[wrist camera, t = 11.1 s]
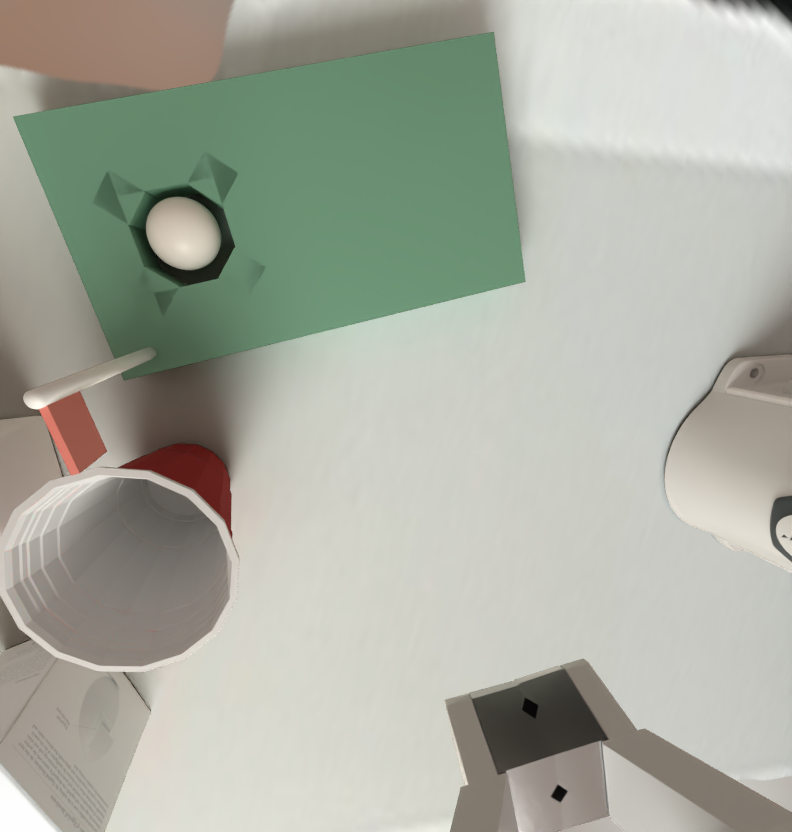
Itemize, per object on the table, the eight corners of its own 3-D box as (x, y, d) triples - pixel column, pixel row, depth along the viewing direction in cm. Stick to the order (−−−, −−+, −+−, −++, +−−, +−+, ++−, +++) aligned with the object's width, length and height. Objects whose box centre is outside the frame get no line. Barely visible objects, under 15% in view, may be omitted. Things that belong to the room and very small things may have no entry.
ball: (215, 184, 25) (139, 191, 23) (239, 258, 26) (168, 271, 24) (198, 202, 28) (129, 210, 26) (220, 267, 30) (156, 280, 28)
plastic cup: (163, 373, 30) (76, 424, 19) (293, 465, 34) (286, 555, 22) (67, 493, 31) (-71, 610, 20) (203, 570, 34) (152, 708, 23)
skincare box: (0, 650, 33) (-132, 805, 23) (86, 616, 34) (-6, 753, 24) (75, 745, 36) (-12, 916, 27) (153, 713, 37) (96, 868, 27)
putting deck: (475, 57, 29) (640, -172, 14) (510, 307, 33) (659, 320, 19) (45, 135, 26) (-282, -55, 11) (151, 397, 30) (14, 492, 16)
